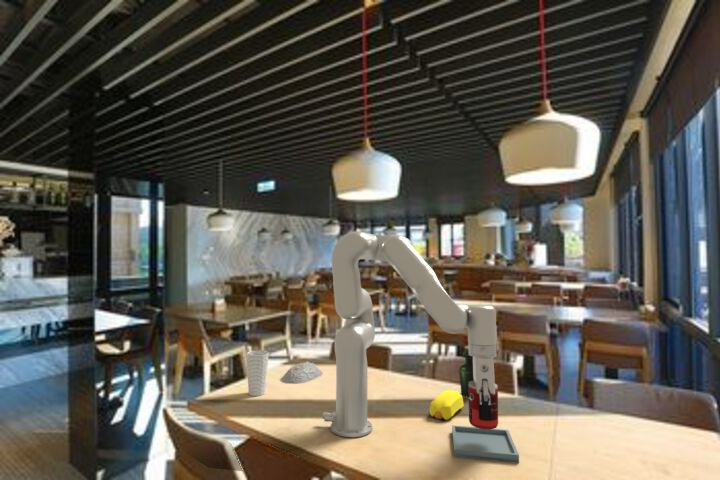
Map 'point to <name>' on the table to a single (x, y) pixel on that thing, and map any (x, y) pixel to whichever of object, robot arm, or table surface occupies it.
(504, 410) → the table surface
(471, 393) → the canned food
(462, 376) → the potion bottle
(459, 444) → the tray
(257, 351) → the cup
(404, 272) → the robot arm
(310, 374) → the grey rock
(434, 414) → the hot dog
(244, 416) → the table surface
